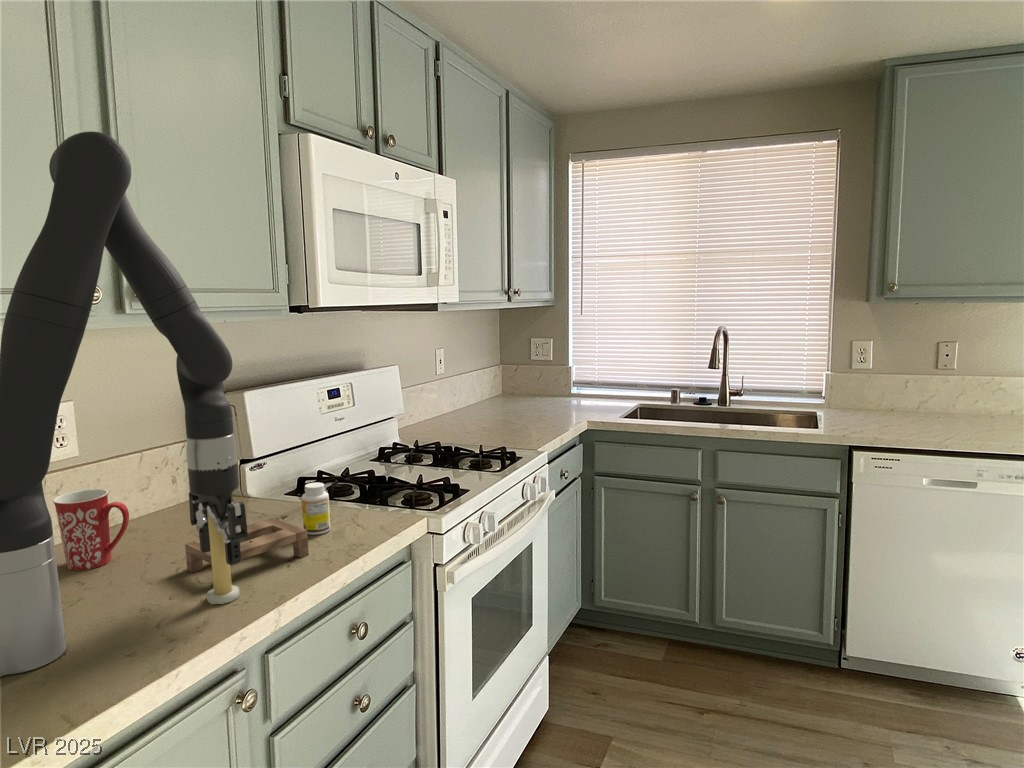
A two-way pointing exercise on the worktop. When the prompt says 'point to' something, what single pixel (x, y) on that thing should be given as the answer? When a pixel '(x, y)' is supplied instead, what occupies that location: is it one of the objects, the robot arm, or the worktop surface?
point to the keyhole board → (256, 542)
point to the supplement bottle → (316, 509)
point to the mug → (87, 527)
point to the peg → (220, 569)
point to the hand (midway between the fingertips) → (220, 557)
